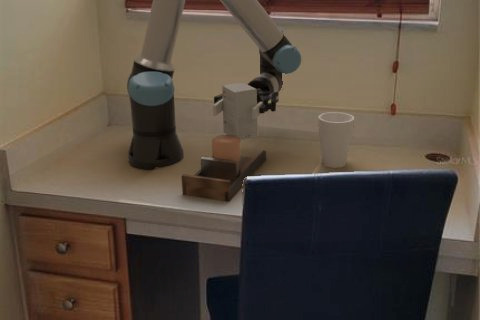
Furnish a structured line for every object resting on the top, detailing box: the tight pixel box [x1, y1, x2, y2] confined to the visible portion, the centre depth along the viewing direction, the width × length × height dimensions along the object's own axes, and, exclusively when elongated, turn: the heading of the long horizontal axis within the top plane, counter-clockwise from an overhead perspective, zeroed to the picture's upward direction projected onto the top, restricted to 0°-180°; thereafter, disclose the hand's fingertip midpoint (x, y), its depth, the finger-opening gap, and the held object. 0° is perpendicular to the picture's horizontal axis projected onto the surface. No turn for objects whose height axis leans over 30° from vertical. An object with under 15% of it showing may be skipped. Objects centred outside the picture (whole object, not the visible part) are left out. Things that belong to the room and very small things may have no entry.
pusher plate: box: [200, 156, 239, 185], centre depth 151 cm, size 9×2×6 cm, turn 70°
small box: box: [221, 82, 258, 141], centre depth 159 cm, size 8×6×13 cm
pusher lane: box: [181, 150, 267, 203], centre depth 156 cm, size 12×28×6 cm, turn 160°
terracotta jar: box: [211, 134, 241, 176], centre depth 155 cm, size 7×7×10 cm
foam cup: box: [317, 111, 355, 169], centre depth 163 cm, size 10×9×13 cm
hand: (233, 112), depth 155 cm, fingers closed on small box, 10 cm apart
